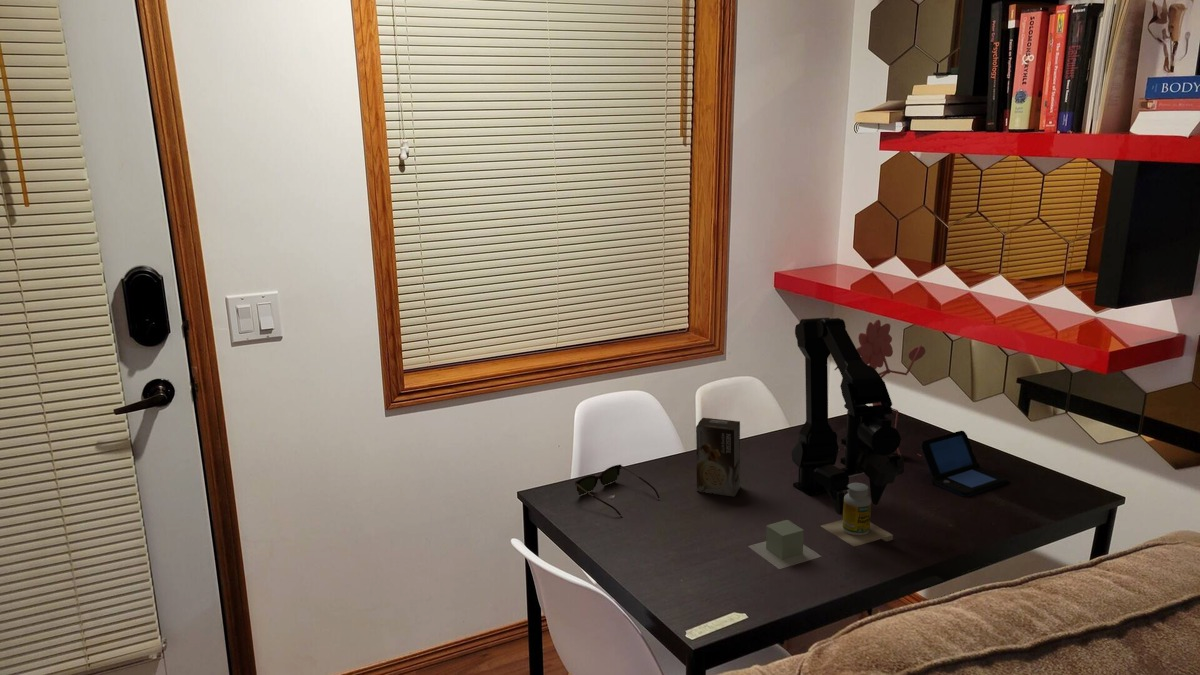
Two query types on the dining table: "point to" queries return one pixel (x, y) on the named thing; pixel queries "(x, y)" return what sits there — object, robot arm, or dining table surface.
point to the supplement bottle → (857, 510)
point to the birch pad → (854, 540)
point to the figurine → (882, 351)
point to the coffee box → (718, 456)
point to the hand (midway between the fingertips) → (857, 509)
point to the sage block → (784, 539)
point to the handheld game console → (958, 465)
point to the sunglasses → (603, 481)
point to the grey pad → (777, 562)
